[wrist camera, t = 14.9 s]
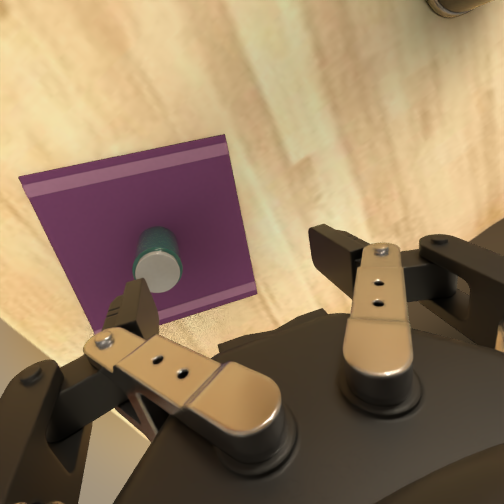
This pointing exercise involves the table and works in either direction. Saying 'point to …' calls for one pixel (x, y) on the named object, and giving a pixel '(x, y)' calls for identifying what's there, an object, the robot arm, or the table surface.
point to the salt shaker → (158, 259)
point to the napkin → (147, 225)
